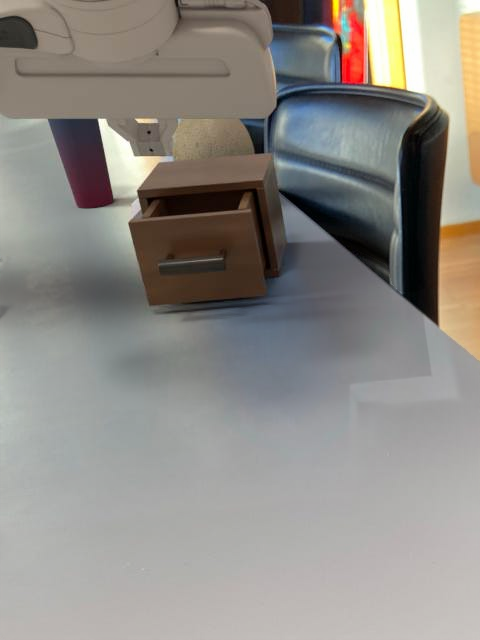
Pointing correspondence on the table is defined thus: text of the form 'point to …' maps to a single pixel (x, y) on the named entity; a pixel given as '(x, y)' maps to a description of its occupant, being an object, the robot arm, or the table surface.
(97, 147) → the cup
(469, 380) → the table surface
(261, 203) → the cabinet
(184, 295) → the drawer
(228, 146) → the fruit
